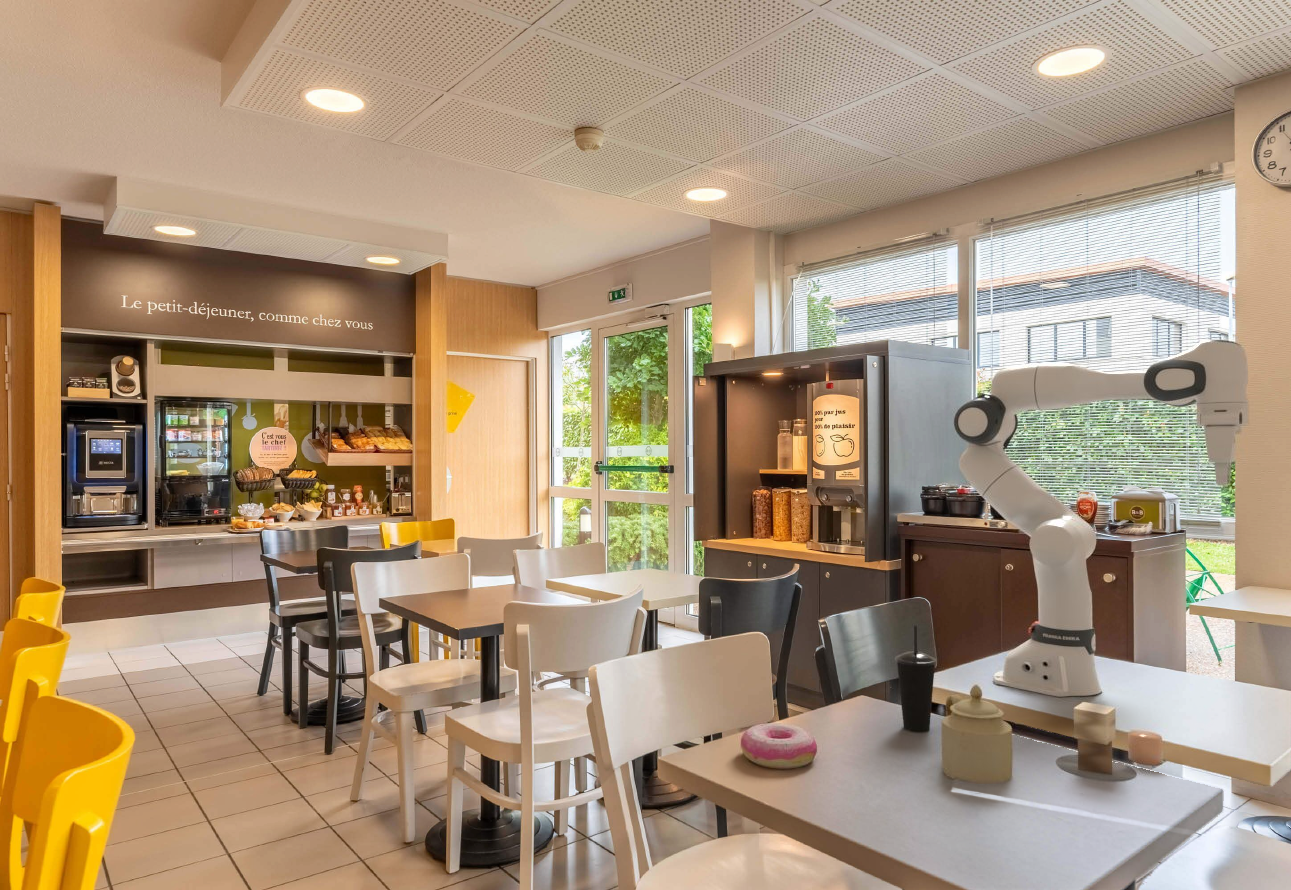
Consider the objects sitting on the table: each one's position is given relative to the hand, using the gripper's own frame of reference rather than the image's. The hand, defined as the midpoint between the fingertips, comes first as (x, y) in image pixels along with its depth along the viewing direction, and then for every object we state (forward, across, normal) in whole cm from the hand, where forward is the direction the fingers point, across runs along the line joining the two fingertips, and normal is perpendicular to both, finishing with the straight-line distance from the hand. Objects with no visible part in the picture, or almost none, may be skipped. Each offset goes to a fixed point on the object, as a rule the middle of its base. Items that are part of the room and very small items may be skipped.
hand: (1223, 484), depth 171 cm
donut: (+48, +78, -61) cm, 110 cm away
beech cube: (+42, +51, -16) cm, 67 cm away
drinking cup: (+48, +47, -48) cm, 82 cm away
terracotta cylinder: (+47, +42, -9) cm, 64 cm away
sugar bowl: (+48, +63, -33) cm, 86 cm away
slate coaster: (+47, +51, -16) cm, 71 cm away
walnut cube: (+47, +51, -16) cm, 71 cm away
